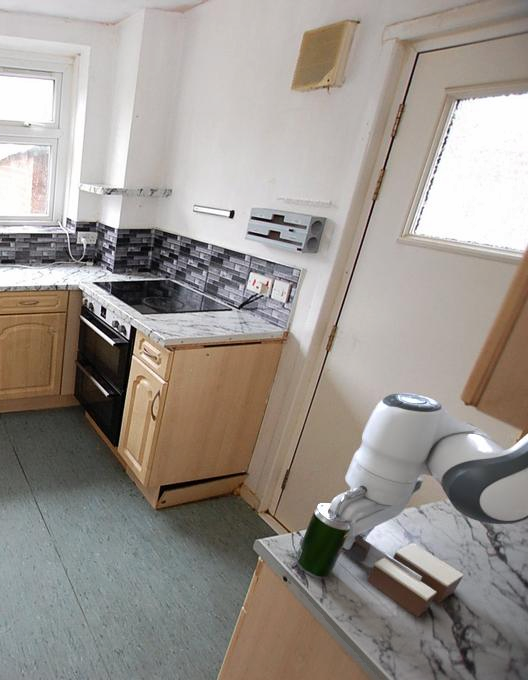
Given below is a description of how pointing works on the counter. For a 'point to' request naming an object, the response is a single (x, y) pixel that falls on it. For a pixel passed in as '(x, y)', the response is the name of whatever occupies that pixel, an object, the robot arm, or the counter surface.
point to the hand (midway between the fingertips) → (351, 543)
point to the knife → (373, 555)
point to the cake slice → (401, 586)
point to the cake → (430, 570)
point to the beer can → (322, 542)
